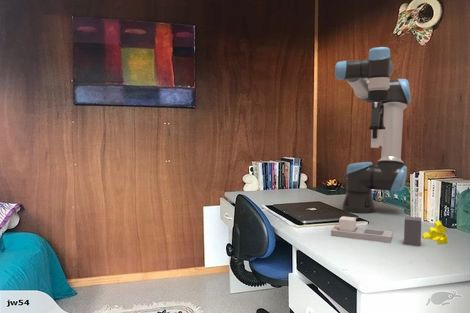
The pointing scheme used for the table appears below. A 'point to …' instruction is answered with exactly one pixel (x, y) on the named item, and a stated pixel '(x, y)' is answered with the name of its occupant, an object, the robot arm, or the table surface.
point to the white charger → (347, 224)
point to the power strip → (364, 234)
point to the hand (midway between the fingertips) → (377, 146)
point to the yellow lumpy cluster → (437, 233)
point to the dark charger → (412, 231)
